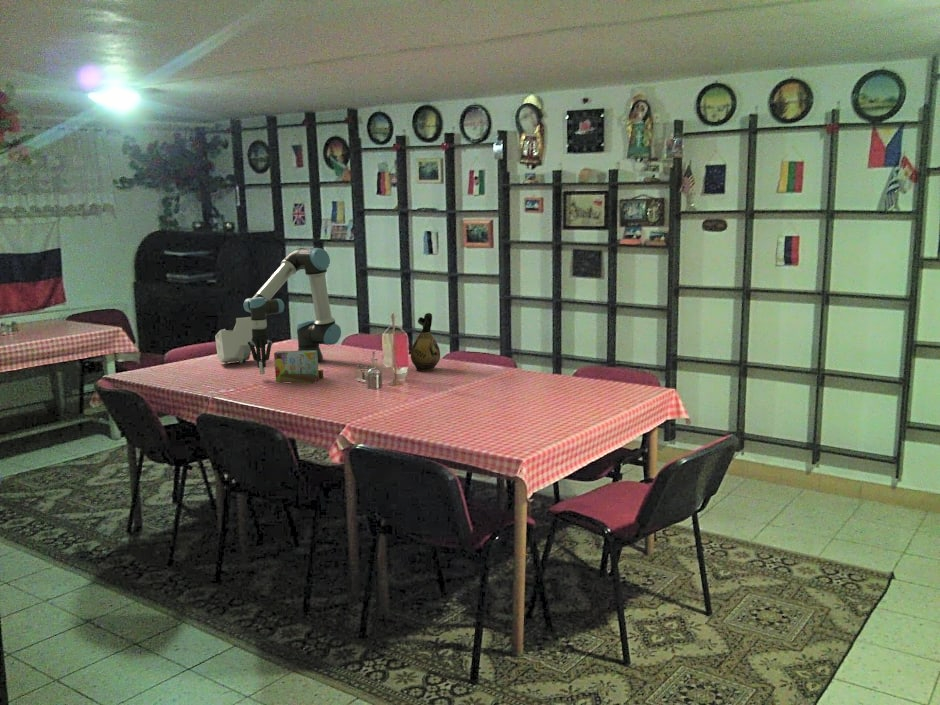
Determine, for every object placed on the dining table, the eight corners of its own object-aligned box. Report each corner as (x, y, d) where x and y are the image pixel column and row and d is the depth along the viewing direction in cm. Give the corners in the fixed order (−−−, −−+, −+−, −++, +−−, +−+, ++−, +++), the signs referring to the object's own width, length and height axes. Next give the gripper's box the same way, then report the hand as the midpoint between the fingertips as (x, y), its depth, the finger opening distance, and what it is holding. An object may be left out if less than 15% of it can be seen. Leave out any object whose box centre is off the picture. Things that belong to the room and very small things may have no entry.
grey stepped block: (222, 363, 462) (216, 319, 465) (217, 369, 476) (211, 326, 479) (259, 359, 471) (253, 316, 474) (253, 365, 485) (246, 323, 488)
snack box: (319, 379, 428) (317, 350, 425) (316, 381, 423) (314, 351, 420) (278, 379, 430) (276, 350, 428) (275, 381, 425) (273, 352, 422)
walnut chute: (290, 377, 434) (289, 369, 433) (323, 377, 431) (323, 370, 430) (280, 382, 421) (279, 375, 421) (314, 383, 418) (314, 375, 417)
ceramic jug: (433, 373, 433) (431, 316, 428) (406, 372, 439) (404, 315, 433) (446, 367, 448) (444, 311, 443) (420, 365, 454) (418, 310, 449)
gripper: (244, 329, 422) (247, 375, 426) (268, 329, 420) (271, 375, 424) (250, 326, 430) (253, 372, 434) (274, 327, 427) (277, 372, 431)
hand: (262, 373), depth 429 cm, fingers closed
